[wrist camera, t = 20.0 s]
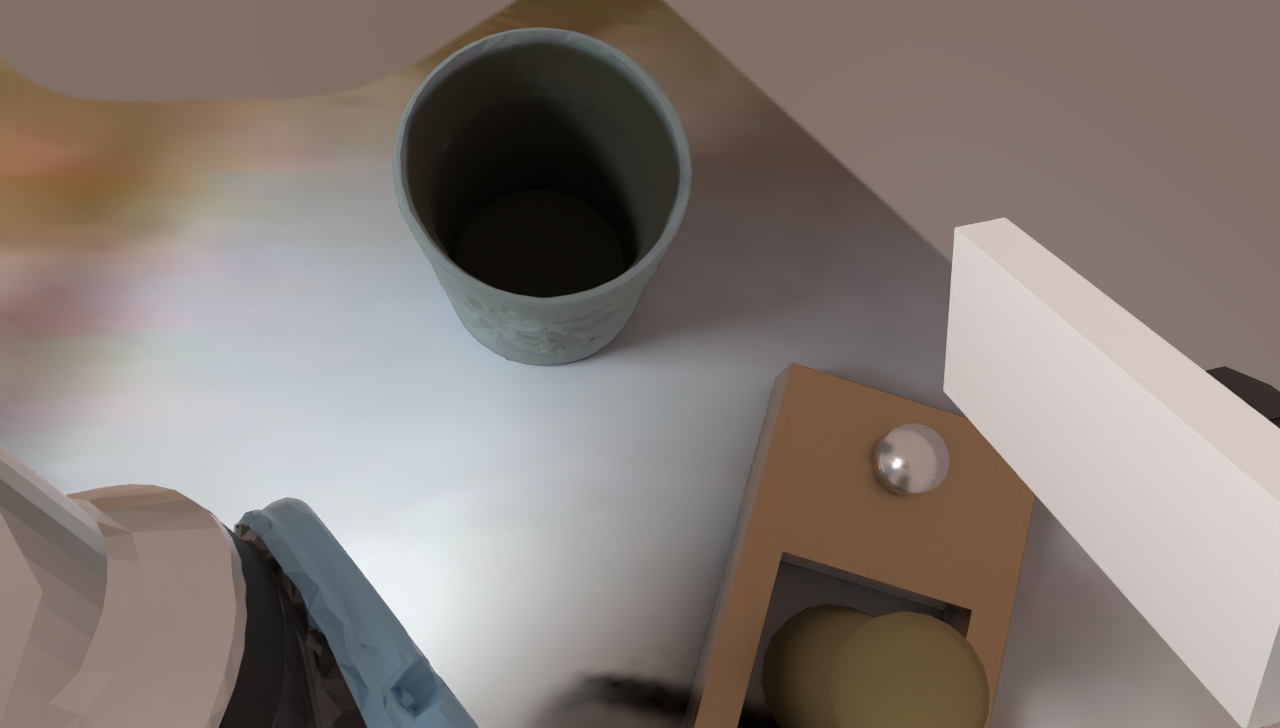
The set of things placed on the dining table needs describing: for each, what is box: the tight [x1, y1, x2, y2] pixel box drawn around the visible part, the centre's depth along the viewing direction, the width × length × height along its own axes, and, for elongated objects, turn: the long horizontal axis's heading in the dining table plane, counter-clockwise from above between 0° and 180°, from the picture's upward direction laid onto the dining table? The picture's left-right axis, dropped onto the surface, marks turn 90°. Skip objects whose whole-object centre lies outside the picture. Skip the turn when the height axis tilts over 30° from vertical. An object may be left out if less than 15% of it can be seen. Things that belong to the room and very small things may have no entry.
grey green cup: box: [393, 28, 692, 366], centre depth 42 cm, size 10×10×12 cm
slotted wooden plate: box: [681, 363, 1035, 728], centre depth 43 cm, size 23×11×4 cm, turn 163°
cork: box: [762, 604, 990, 728], centre depth 40 cm, size 6×6×11 cm
